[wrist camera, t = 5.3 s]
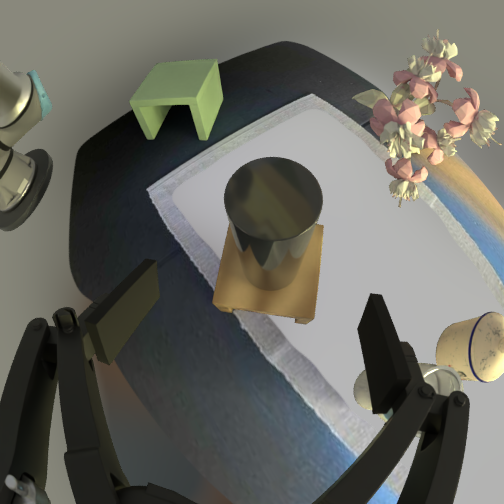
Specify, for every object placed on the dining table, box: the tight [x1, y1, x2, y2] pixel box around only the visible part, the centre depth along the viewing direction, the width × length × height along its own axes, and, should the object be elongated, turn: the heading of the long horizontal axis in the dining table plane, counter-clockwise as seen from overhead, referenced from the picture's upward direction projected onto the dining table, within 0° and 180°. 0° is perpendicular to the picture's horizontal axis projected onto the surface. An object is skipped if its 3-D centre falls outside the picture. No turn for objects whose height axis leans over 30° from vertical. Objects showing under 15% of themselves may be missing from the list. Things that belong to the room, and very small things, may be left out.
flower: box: [352, 29, 502, 207], centre depth 33 cm, size 20×22×25 cm
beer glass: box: [354, 363, 463, 438], centre depth 23 cm, size 7×7×15 cm
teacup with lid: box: [436, 312, 504, 383], centre depth 25 cm, size 12×9×12 cm
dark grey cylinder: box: [224, 157, 323, 291], centre depth 24 cm, size 6×6×14 cm
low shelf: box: [212, 223, 324, 324], centre depth 34 cm, size 11×11×6 cm
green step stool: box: [129, 59, 223, 140], centre depth 43 cm, size 12×12×10 cm
